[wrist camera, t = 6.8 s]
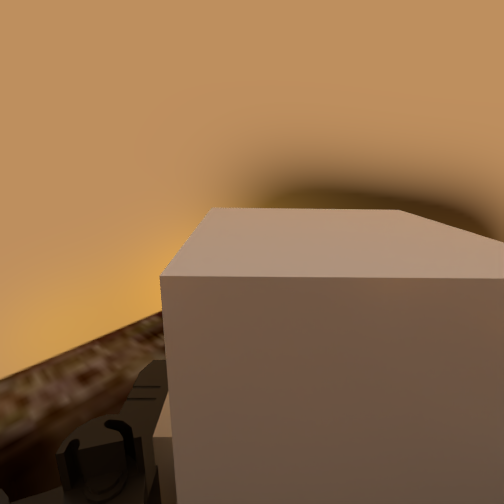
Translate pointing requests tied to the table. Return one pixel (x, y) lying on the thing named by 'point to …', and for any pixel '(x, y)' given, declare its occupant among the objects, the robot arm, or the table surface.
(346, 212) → the granite block
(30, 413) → the table surface
